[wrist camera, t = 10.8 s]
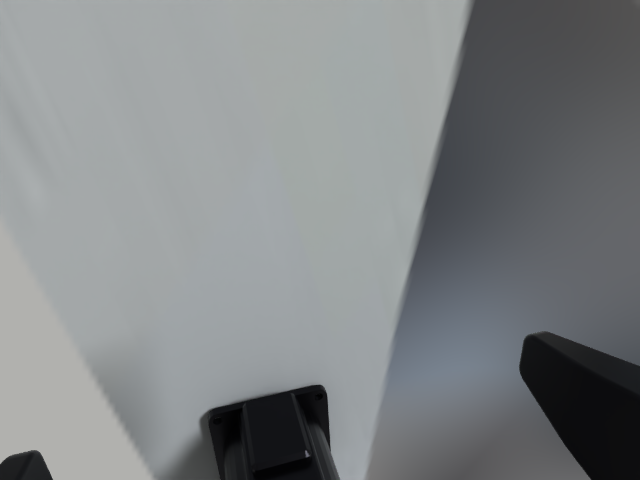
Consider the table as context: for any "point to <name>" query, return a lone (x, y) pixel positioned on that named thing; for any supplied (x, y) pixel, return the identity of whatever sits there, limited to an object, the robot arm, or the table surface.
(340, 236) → the table surface
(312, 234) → the table surface
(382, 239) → the table surface
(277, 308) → the table surface
